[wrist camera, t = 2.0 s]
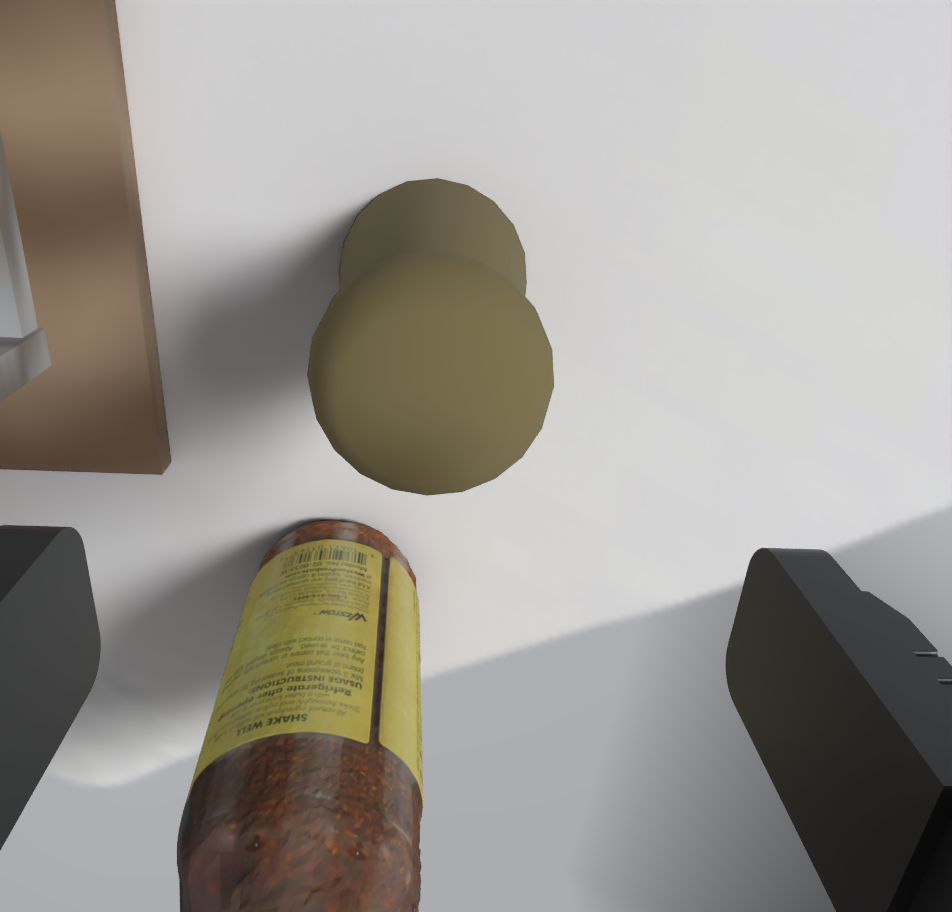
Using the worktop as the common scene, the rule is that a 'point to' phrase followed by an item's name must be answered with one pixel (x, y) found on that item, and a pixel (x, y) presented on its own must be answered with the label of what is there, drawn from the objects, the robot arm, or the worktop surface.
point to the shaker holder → (72, 251)
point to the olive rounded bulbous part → (431, 343)
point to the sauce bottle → (313, 738)
